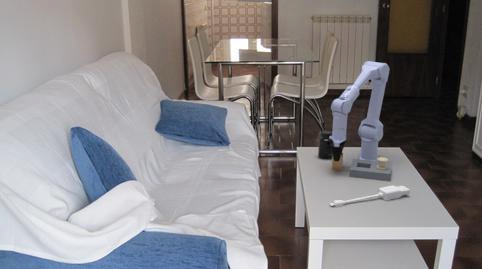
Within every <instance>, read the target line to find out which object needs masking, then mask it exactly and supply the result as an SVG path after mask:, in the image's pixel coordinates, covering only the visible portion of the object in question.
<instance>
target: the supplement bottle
mask: <svg viewBox="0 0 482 269" xmlns="http://www.w3.org/2000/svg"><path fill="white" fill-rule="evenodd" d="M320 134H321V136H320V137H319V139H318V151H317V152H318V154H317V156H318V158H319V159H321V160H330V159H331V160H332V158H333V152H332V149H331V147H330V145H331V144H334V142H333V140H332V139H329V137H330V136H332V131H329V130H323V131H321V133H320Z"/></svg>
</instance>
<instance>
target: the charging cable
mask: <svg viewBox="0 0 482 269" xmlns="http://www.w3.org/2000/svg"><path fill="white" fill-rule="evenodd" d="M410 194H411V189H409V188H408V187H406V186H404V185H399V186H396V185H388V186H384V187H379V188H377V193H376V194H373V195H367V196H362V197H356V198H352V199H348V200H340V199H336V200H333V201H332V202H330V203H329V206H330V207H336V208H339V207H343V206H344V205H346V204H347V203H353V202H358V201H362V200H367V199H372V198H376V197H379V198H380V199H381V200H384V201H389V200H396V199H400V198H402V196H405V195H410Z"/></svg>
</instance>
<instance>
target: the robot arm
mask: <svg viewBox="0 0 482 269" xmlns="http://www.w3.org/2000/svg"><path fill="white" fill-rule="evenodd" d="M389 74H390V66H389V65H388V64H387V63H386V62H376V61H370V60H367V61H365V62H364V63H363V65H362V66H361V72H360V74H359V75H358V77H357V78H356V80H355V81H354V83H353V84H352V85H349V86H347V87H346V89H345V90H344V91H343V92H342V93H341V95H340V96H339V97H338V98H335V99H334V100H333V101H332V103H331V106H330V110H331V111H332V114H331V115H332V117H333V118H332V131H331V132H332V136H330V137H329V139H332V140H333V142H334V144H331V145H330V147H331V149H332V152H333V159H334V161H339V160H340V156H341V153H343V150H344V148H345V144H346V142H347V141H348V140H347V126H348V114H349V113H350V112H351V110H352V106H353V103H354V102H355V101H356V100H357V98H358V97H359V96H360V90H361V89H362V88H363V87H364V86H365V85H366V84H367V83H368V82H369V81H370V80H371V82H372V89H371V94H370V99H369V104H368V109H367V115H366V118H364V119H362V120H361V122H360V125H359V128H358V129H357V130H358V133H357V134H358V136H359V137H360V140H361V144H360V145H361V146H360V154H359V157H358V159H360V160H370V161H378V160H377V158H379V154H378V149H379V148H378V147H379V142H380V141H381V140H382V138H383V136H384V124H383V123H382V122H381V121H380V115H381V110H382V105H383V100H384V95H385V92H386V90H385V89H386V84H387V82H388V79H389Z"/></svg>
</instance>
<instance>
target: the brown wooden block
mask: <svg viewBox="0 0 482 269" xmlns="http://www.w3.org/2000/svg"><path fill="white" fill-rule="evenodd" d="M331 160H332V161H331V164H332V165H331V171H333V172H335V171H336V172H342V171H343V160H344V152H342V153H341V156H340V160H339V161H334V159H333V158H331Z"/></svg>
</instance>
